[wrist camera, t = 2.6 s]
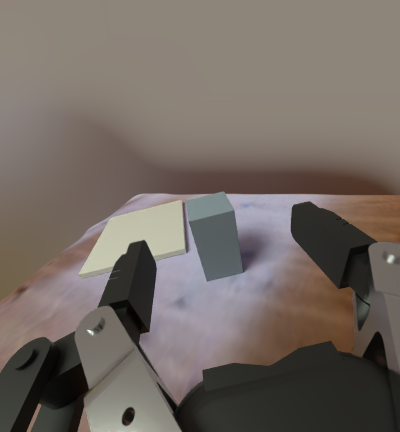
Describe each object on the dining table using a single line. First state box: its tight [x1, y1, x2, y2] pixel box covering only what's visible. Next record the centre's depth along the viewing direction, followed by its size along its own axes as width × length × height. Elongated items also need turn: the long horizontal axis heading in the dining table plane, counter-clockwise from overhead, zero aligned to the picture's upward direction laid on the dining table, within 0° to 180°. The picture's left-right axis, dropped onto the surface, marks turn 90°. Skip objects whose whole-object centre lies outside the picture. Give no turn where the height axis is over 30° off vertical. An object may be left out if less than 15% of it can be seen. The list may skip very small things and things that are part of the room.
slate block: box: [186, 192, 243, 281], centre depth 25 cm, size 5×5×10 cm
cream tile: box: [79, 200, 187, 279], centre depth 38 cm, size 18×18×1 cm
